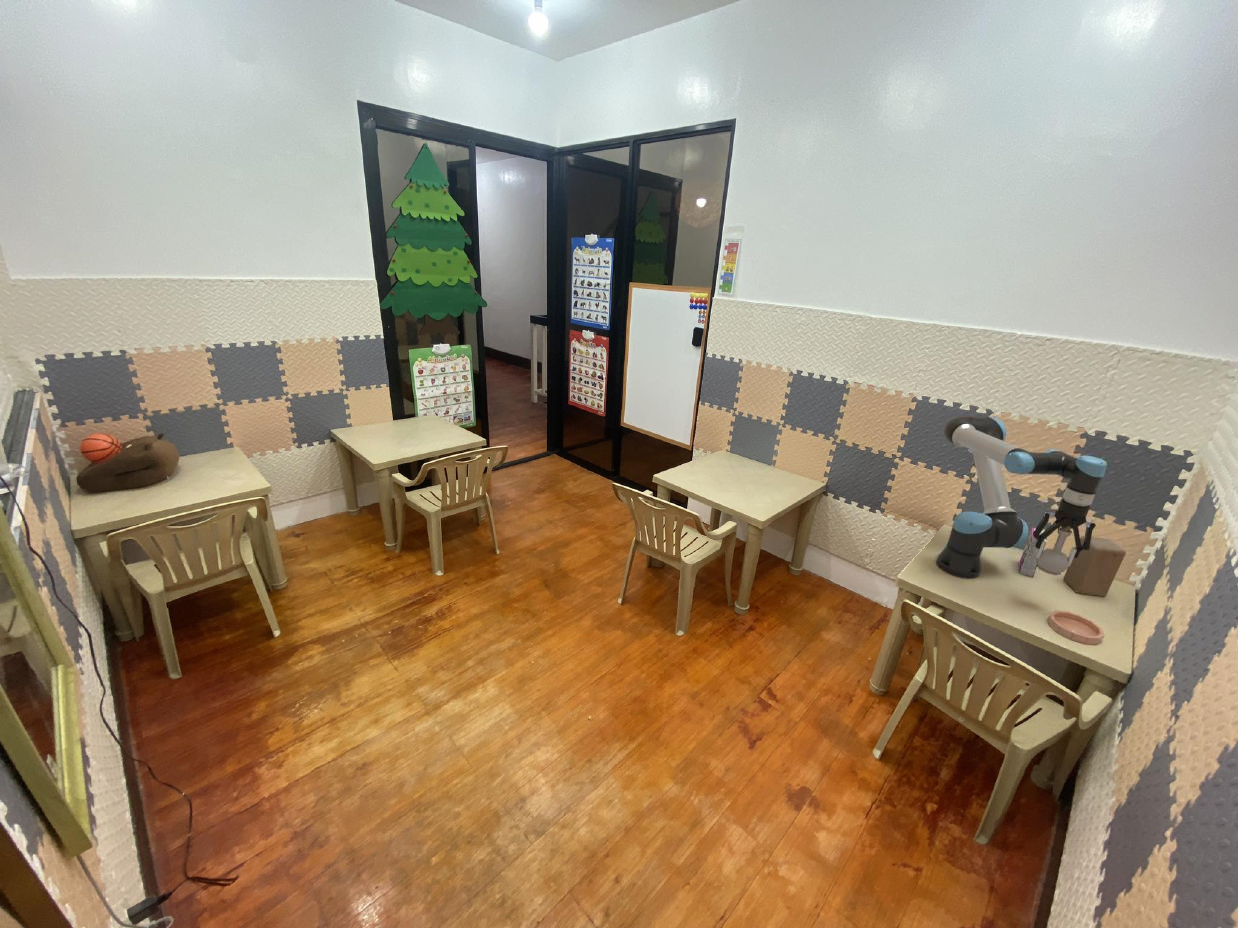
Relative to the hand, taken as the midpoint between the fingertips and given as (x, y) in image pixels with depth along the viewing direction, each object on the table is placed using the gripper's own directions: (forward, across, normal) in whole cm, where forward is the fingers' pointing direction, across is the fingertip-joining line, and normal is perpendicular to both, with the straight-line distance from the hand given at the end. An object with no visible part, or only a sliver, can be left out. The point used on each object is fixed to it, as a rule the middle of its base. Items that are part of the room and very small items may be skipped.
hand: (1052, 560), depth 183 cm
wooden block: (+18, +18, +24) cm, 35 cm away
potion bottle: (+4, 0, 0) cm, 4 cm away
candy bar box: (+18, 0, +27) cm, 33 cm away
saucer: (+18, +10, -11) cm, 23 cm away
